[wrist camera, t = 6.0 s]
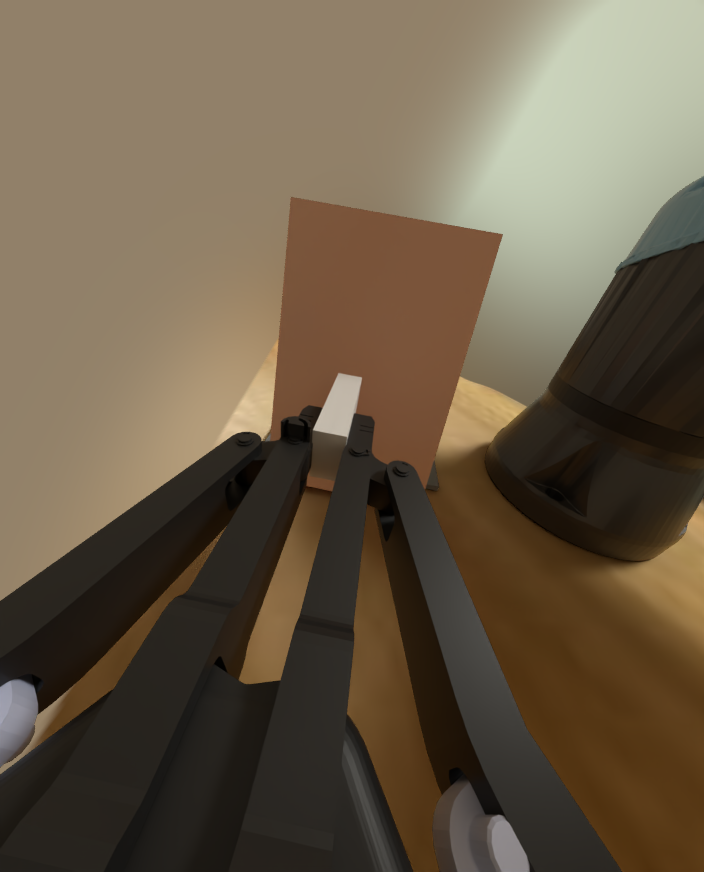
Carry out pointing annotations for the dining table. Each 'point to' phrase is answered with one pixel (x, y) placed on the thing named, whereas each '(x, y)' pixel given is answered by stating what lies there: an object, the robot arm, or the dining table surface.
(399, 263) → the tile
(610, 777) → the dining table surface
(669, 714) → the dining table surface
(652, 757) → the dining table surface
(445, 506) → the dining table surface
